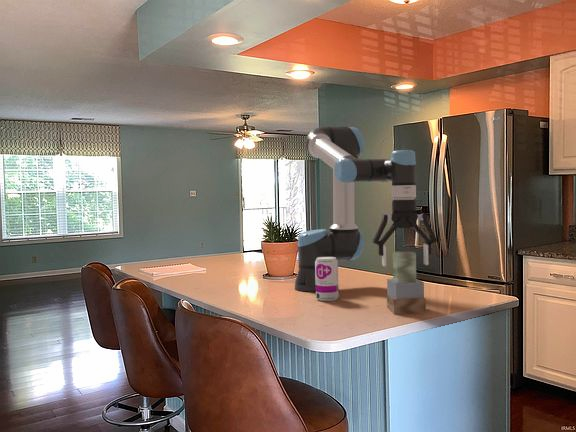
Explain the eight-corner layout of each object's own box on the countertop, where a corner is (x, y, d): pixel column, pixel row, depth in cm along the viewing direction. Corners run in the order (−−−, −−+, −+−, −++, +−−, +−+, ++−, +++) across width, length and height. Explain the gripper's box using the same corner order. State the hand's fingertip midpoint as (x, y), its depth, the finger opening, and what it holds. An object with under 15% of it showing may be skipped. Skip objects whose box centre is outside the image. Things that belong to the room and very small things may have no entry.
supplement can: (332, 302, 182) (331, 259, 181) (311, 300, 186) (310, 258, 185) (342, 298, 189) (341, 257, 188) (322, 296, 193) (321, 256, 192)
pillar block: (397, 282, 164) (396, 253, 163) (393, 279, 170) (392, 251, 169) (416, 281, 164) (415, 253, 164) (411, 278, 170) (411, 251, 170)
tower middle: (396, 299, 162) (396, 283, 162) (387, 293, 171) (387, 278, 171) (424, 297, 163) (423, 282, 163) (413, 292, 172) (413, 277, 172)
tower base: (394, 315, 162) (393, 299, 162) (387, 308, 172) (386, 293, 172) (425, 314, 162) (425, 298, 162) (417, 307, 172) (416, 292, 172)
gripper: (367, 200, 162) (368, 267, 162) (446, 198, 162) (447, 265, 163) (363, 199, 169) (364, 264, 170) (438, 197, 170) (439, 262, 171)
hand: (405, 265), depth 167 cm, fingers open, 13 cm apart
